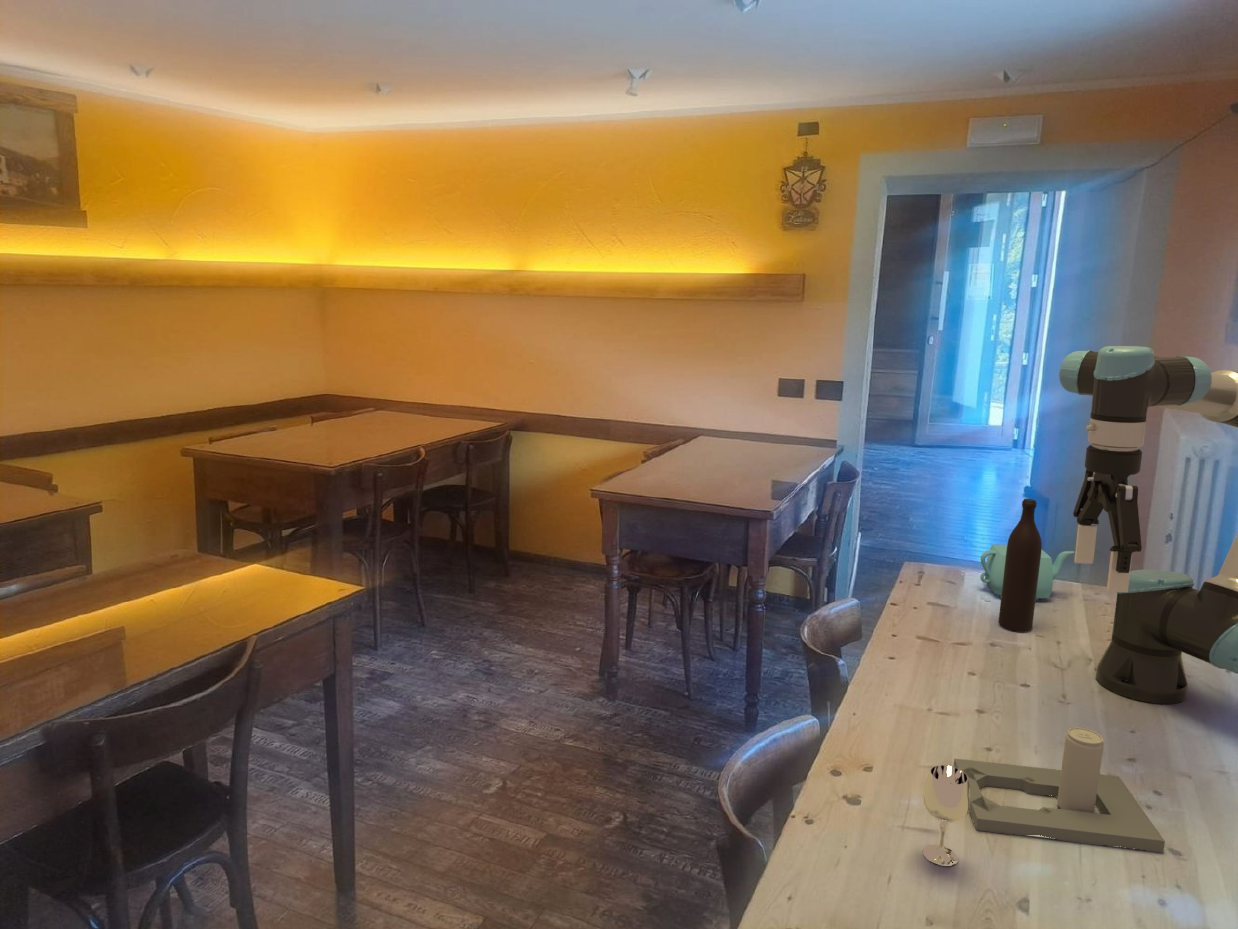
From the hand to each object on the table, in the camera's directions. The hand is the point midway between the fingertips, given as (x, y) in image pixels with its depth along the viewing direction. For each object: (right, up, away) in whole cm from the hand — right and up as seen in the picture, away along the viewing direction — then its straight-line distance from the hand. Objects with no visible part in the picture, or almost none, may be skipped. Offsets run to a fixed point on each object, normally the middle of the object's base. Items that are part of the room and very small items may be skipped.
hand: (1099, 576), depth 135 cm
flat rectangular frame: (-14, -33, -11) cm, 37 cm away
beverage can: (-10, -33, -12) cm, 36 cm away
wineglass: (-34, -35, -22) cm, 54 cm away
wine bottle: (+14, -19, +58) cm, 62 cm away
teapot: (+26, -15, +80) cm, 85 cm away
